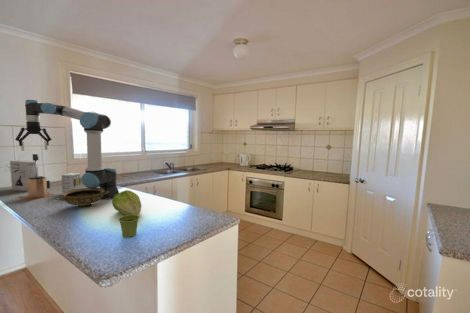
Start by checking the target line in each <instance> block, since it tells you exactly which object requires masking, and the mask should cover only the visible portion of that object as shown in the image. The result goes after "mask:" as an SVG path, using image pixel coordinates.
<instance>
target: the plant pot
mask: <svg viewBox="0 0 470 313" xmlns="http://www.w3.org/2000/svg"><path fill="white" fill-rule="evenodd" d="M139 220H140V216H139V214H138V215H122V216H121V217H118V222H119V224H120V228H121V234H122V237H123V238H131V237H135V236H136V235H137V230H138V229H137V228H138V224H139ZM134 235H135V236H134Z"/></svg>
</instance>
